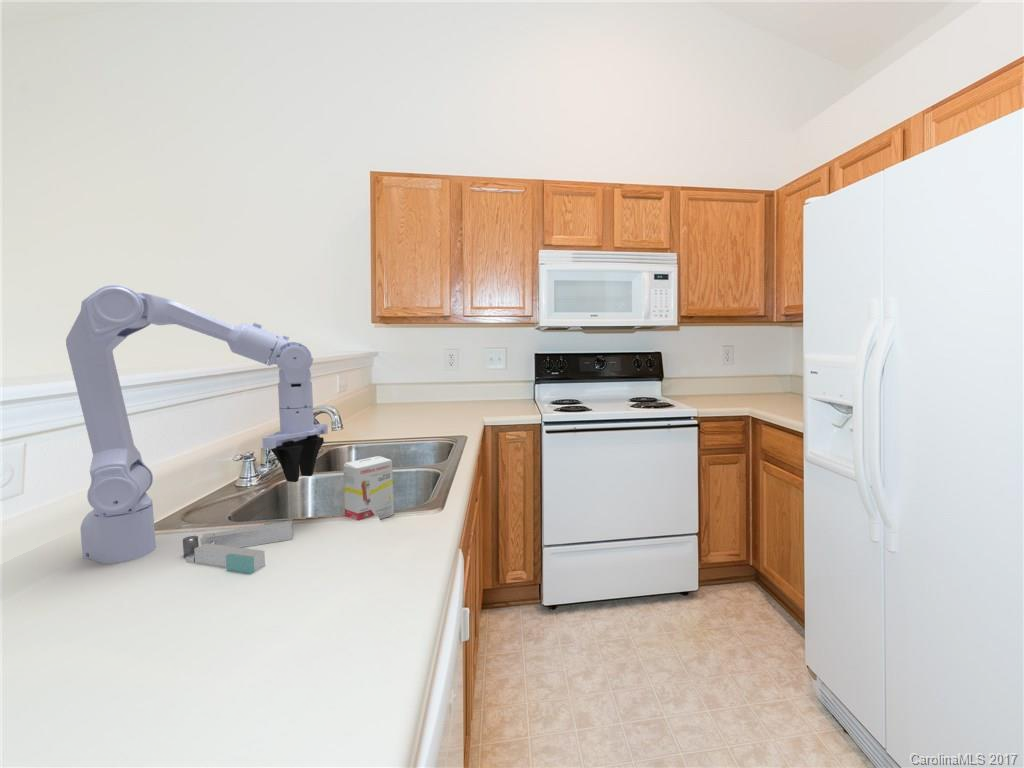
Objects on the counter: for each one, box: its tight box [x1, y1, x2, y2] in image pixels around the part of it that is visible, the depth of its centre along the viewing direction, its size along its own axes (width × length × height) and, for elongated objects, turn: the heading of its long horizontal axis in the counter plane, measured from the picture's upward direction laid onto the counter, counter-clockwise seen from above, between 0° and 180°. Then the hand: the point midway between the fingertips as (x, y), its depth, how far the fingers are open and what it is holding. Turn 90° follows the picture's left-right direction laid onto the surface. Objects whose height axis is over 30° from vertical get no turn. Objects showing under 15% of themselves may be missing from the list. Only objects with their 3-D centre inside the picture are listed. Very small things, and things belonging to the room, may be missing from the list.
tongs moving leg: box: [200, 519, 294, 548], centre depth 76 cm, size 13×3×2 cm, turn 112°
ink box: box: [343, 455, 395, 521], centre depth 90 cm, size 9×5×12 cm, turn 141°
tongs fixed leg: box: [182, 535, 266, 575], centre depth 69 cm, size 16×4×3 cm, turn 74°
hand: (299, 478), depth 85 cm, fingers open, 3 cm apart
